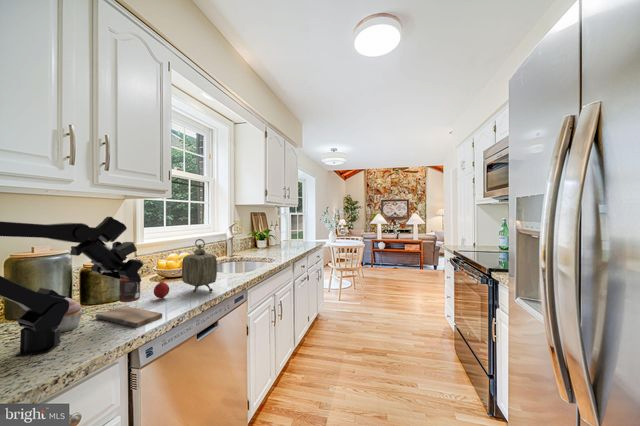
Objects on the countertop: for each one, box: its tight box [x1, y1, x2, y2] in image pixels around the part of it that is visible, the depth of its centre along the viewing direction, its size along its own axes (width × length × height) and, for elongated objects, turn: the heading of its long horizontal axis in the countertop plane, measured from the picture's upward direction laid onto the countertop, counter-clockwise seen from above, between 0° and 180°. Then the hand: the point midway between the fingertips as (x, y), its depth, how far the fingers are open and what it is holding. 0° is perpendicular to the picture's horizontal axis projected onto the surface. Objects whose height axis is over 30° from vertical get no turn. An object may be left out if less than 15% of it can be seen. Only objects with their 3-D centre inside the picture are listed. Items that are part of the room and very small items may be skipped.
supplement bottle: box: [118, 272, 142, 303], centre depth 92 cm, size 6×6×11 cm
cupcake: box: [58, 297, 86, 333], centre depth 83 cm, size 9×9×10 cm
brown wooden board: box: [94, 305, 163, 328], centre depth 92 cm, size 10×20×2 cm, turn 69°
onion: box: [153, 279, 170, 300], centre depth 113 cm, size 6×6×8 cm
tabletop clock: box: [181, 238, 218, 294], centre depth 125 cm, size 14×9×25 cm, turn 60°
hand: (134, 280), depth 94 cm, fingers closed on supplement bottle, 6 cm apart
